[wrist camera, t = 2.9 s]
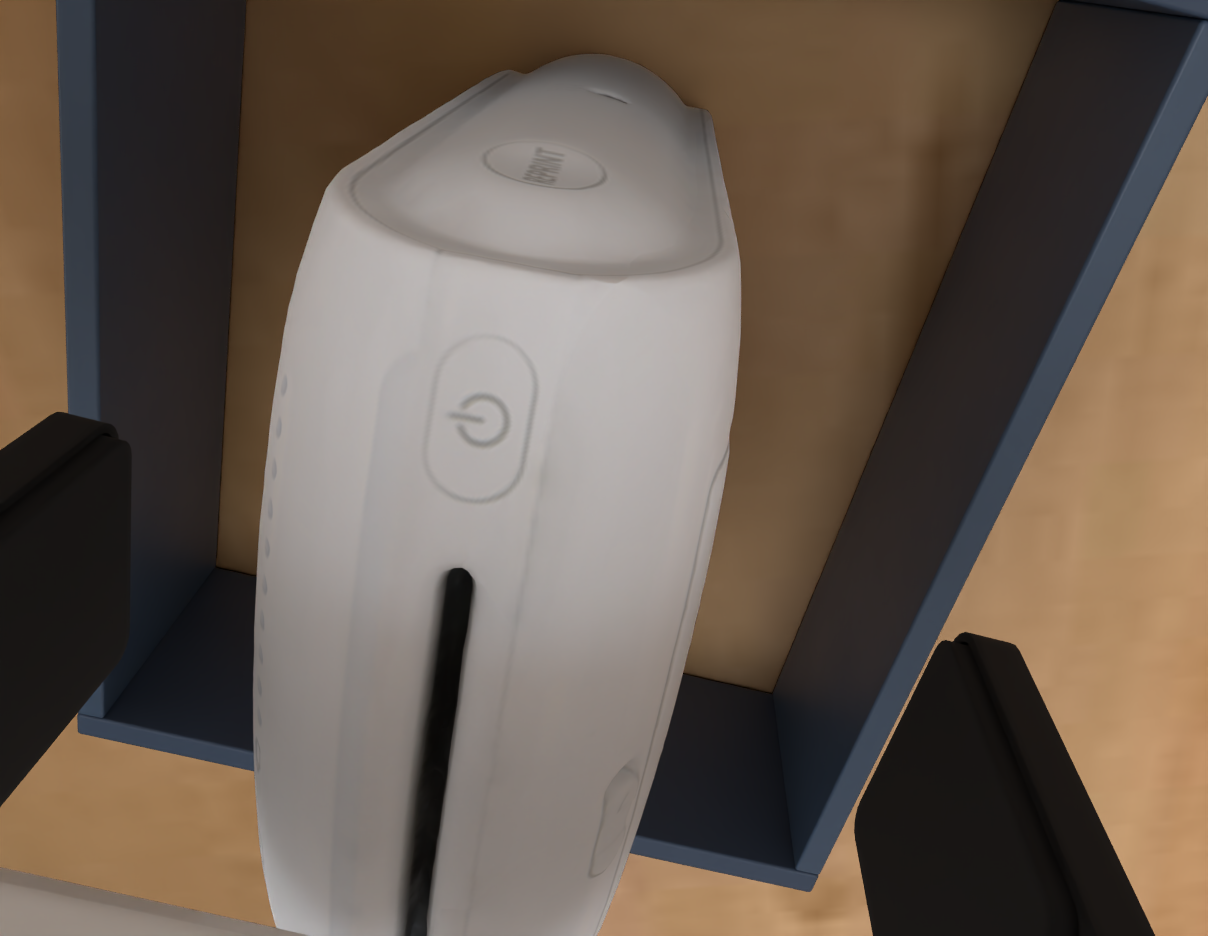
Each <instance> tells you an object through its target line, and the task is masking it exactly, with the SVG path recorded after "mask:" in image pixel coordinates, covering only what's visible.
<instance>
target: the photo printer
mask: <svg viewBox="0 0 1208 936" xmlns="http://www.w3.org/2000/svg"><path fill="white" fill-rule="evenodd" d="M740 338H741V263H740V256H739V249H738V242H737V236H736V233H735V228H734V223H733V220H732V216H731V210H730V204H729V200H728V195H727V191H726V187H725V183H724V178H723V173H722V168H721V162H720V158H719V152H718V148H717V143H716V138H715V132H714V126H713V120H712V116H711V114H710V113H709V111H707V110H705V109H700V108H694V107H689V106H686V105H685V104H684V103H683V102H682V101H681V99H680V98H679V96H678V95H677V93H676V92H675V91H674V90H673V89H672V88H671V87H670V86H669V85H668V84H667V83H666V82H664V81H663V80H662V79H661V78H659V77H658V76H657V75H656V74H654V73H653V72H651V71H650V70H648V69H646V68H645V67H643V66H641V65H639V64H636V63H634V62H632V61H629V60H626V59H623V58H619V57H615V56H611V55H605V54H579V55H572V56H568V57H564V58H560V59H557V60H555V61H552V62H550V63H548V64H545V65H543V66H541V67H539V68H538V69H536V70H534V71H533V72H531V73H527V74H522V73H519V72H516V71H513V70H505V71H500V72H498V73H496V74H494V75H491V76H490V77H489V78H485V79H484V80H483V81H481V82H479V83H478V84H477V85H475V86H473V87H471V88H469V89H468V90H466V91H465V92H463V93H462V94H460V95H459V96H457V97H456V98H454V99H453V100H451V101H449V102H447V103H445V104H444V105H442V106H441V107H439V108H437V109H436V110H434V111H433V112H432V113H430V114H428V115H426V116H425V117H424V118H422V119H420V120H418V121H416V122H415V123H413V124H411V125H410V126H408V127H407V128H405V129H403V130H402V131H400V132H398V133H397V134H395V135H394V136H393V137H391V138H390V139H388V140H387V141H386V142H384V143H383V144H381V145H380V146H378V147H376V148H375V149H373V150H371V151H370V152H368V153H367V154H365V155H364V156H362V157H360V158H359V159H357V160H355V161H354V162H352V163H351V164H349V165H347V166H346V167H344V168H342V169H341V170H340V172H339V173H338V174H337V175H336V176H335V177H334V179H333V180H332V181H331V183H330V184H329V185H328V187H327V188H326V190H325V193H324V196H323V198H322V201H321V204H320V207H319V209H318V212H317V215H316V218H315V220H314V223H313V226H312V229H311V232H310V235H309V238H308V241H307V244H306V247H305V251H304V254H303V257H302V260H301V263H300V266H299V269H298V272H297V275H296V280H295V285H294V289H293V293H292V296H291V300H290V303H289V307H288V313H287V319H286V324H285V328H284V334H283V341H282V349H281V355H280V361H279V367H278V373H277V380H276V386H275V393H274V399H273V406H272V414H271V422H270V430H269V440H268V451H267V459H266V466H265V476H264V490H263V499H262V507H261V516H260V527H259V544H258V561H257V582H256V602H255V621H254V667H253V744H254V776H255V790H256V803H257V817H258V830H259V842H260V851H261V858H262V865H263V871H264V876H265V881H266V886H267V891H268V897H269V902H270V906H271V910H272V914H273V918H274V921H275V925H276V928H279V929H283V930H288V931H292V932H296V933H301V934H305V935H310V936H597V934H598V932H599V930H600V929H601V926H602V924H603V921H604V919H605V917H606V914H607V912H608V909H609V907H610V904H611V901H612V899H613V897H614V894H615V892H616V889H617V887H618V884H619V882H620V879H621V876H622V873H623V870H624V867H625V864H626V861H627V858H628V856H629V853H630V850H631V847H632V844H633V841H634V838H635V835H636V832H637V829H638V826H639V823H640V820H641V817H642V814H643V810H644V807H645V804H646V801H647V798H648V795H649V792H650V789H651V786H652V783H653V780H654V776H655V773H656V769H657V766H658V762H659V758H660V755H661V752H662V750H663V746H664V741H665V738H666V735H667V732H668V728H669V724H670V721H671V717H672V713H673V710H674V706H675V702H676V698H677V694H678V690H679V687H680V683H681V679H682V675H683V671H684V667H685V663H686V659H687V655H688V651H689V647H690V644H691V640H692V636H693V631H694V626H695V622H696V618H697V614H698V610H699V607H700V600H701V595H702V591H703V587H704V584H705V579H706V575H707V570H708V565H709V561H710V556H711V552H712V547H713V542H714V537H715V531H716V526H717V521H718V516H719V511H720V505H721V500H722V495H723V490H724V484H725V478H726V472H727V466H728V459H729V453H730V449H729V435H730V428H731V424H732V420H733V414H734V406H735V397H736V386H737V374H738V362H739V350H740Z"/></svg>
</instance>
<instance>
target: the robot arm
mask: <svg viewBox="0 0 1208 936" xmlns="http://www.w3.org/2000/svg"><path fill="white" fill-rule="evenodd" d="M131 480H132V453H131V447H130V445H129V443H128V442H127V441H124V440H120V439H119V437H118V433H117V430H116V428H115V427H114V426H113V425H112V424H109V423H105V422H101V421H97V420H93V419H89V418H85V417H80V416H76V415H72V414H68V413H64V412H56V413H54V414H52V415H50V416H48V417H47V418H46V419H44V420H43V421H41V422H40V423H38V424H37V425H36V426H34V427H33V428H31V429H30V430H29V431H27V432H26V433H24V434H23V435H21V436H20V437H19V438H17V439H16V440H14V441H13V442H11V443H10V444H9V445H7V446H6V447H4V448H3V449H1V450H0V807H1V805H2V804H3V803H4V802H5V801H6V799H7V798H8V797H9V796H10V794H11V793H12V792H13V791H14V790H15V788H16V787H17V786H18V785H19V783H20V782H21V781H22V780H23V779H24V777H25V776H26V775H27V774H28V772H29V771H30V770H31V769H32V768H33V766H34V765H35V764H36V763H37V762H38V760H39V759H40V758H41V757H42V755H43V754H44V753H45V752H46V751H47V749H48V748H49V747H50V746H51V744H52V743H53V742H54V741H55V740H56V738H57V737H58V736H59V735H60V734H61V732H62V731H63V730H64V729H65V727H66V726H67V725H68V724H69V723H70V721H71V720H72V719H73V718H74V716H75V715H76V714H77V713H78V712H79V710H80V709H81V708H82V707H83V706H84V704H85V703H86V702H87V701H88V699H89V698H90V697H91V696H92V695H93V693H94V692H95V691H96V690H97V688H98V687H99V686H100V685H101V684H102V682H103V681H104V680H105V679H106V677H107V676H108V675H109V674H110V673H111V671H112V670H113V669H114V668H115V667H116V665H117V664H118V662H119V661H120V660H121V658H122V656H123V654H124V652H125V649H126V646H127V643H128V639H129V633H130V571H131ZM854 833H855V841H856V846H857V852H858V857H859V862H860V868H861V873H862V878H863V884H864V889H865V895H866V900H867V905H868V911H869V916H870V921H871V927H872V932H873V936H1155V934H1154V932H1153V930H1152V928H1151V926H1150V924H1149V922H1148V920H1147V917H1146V915H1145V913H1144V911H1143V909H1142V907H1141V905H1140V903H1139V901H1138V899H1137V896H1136V894H1135V892H1134V890H1133V888H1132V886H1131V884H1130V882H1129V880H1128V878H1127V875H1126V873H1125V871H1124V869H1123V867H1122V865H1121V863H1120V861H1119V859H1118V857H1117V854H1116V852H1115V850H1114V848H1113V846H1112V844H1111V842H1110V840H1109V838H1108V836H1107V833H1106V831H1105V829H1104V827H1103V825H1102V823H1101V821H1100V819H1099V817H1098V815H1097V813H1096V810H1095V808H1094V806H1093V804H1092V802H1091V800H1090V798H1089V796H1088V794H1087V792H1086V789H1085V787H1084V785H1083V783H1082V781H1081V779H1080V777H1079V775H1078V773H1077V771H1076V768H1075V766H1074V764H1073V762H1072V760H1071V758H1070V756H1069V754H1068V752H1067V750H1066V747H1065V745H1064V743H1063V741H1062V739H1061V737H1060V735H1059V733H1058V731H1057V729H1056V726H1055V724H1054V722H1053V720H1052V718H1051V716H1050V714H1049V712H1048V710H1047V708H1046V705H1045V703H1044V701H1043V699H1042V697H1041V695H1040V693H1039V691H1038V689H1037V687H1036V684H1035V682H1034V680H1033V678H1032V676H1031V674H1030V672H1029V670H1028V668H1027V666H1026V663H1025V661H1024V659H1023V657H1022V655H1021V653H1020V651H1019V650H1018V648H1017V647H1016V645H1014V644H1011V643H1008V642H1004V641H1000V640H996V639H992V638H988V637H984V636H980V635H976V634H971V633H967V632H964V633H961V634H959V635H958V636H957V637H956V638H955V639H954V641H953V642H951V641H947V640H945V641H942V642H941V643H940V644H938V646H937V647H936V649H935V651H934V653H933V655H932V657H931V659H930V661H929V663H928V665H927V667H926V669H925V671H924V673H923V675H922V677H921V679H920V681H919V683H918V685H917V687H916V689H915V691H914V693H913V695H912V697H911V700H910V702H909V704H908V706H907V708H906V710H905V712H904V714H903V716H902V718H901V720H900V722H899V724H898V726H897V728H896V730H895V732H894V734H893V736H892V738H891V740H890V742H889V744H888V746H887V748H886V750H885V752H884V754H883V756H882V758H881V760H880V762H879V765H878V767H877V769H876V771H875V773H874V775H873V777H872V779H871V781H870V783H869V785H868V787H867V789H866V791H865V793H864V795H863V797H862V799H861V801H860V803H859V806H858V809H857V813H856V817H855V828H854ZM0 936H310V935H305V934H301V933H296V932H292V931H288V930H283V929H279V928H274V927H270V926H265V925H261V924H256V923H252V922H247V921H243V920H238V919H234V918H229V917H224V916H220V915H215V914H211V913H206V912H202V911H197V910H193V909H188V908H184V907H179V906H175V905H170V904H166V903H161V902H157V901H152V900H147V899H143V898H138V897H134V896H129V895H125V894H120V893H116V892H111V891H107V890H102V889H98V888H93V887H89V886H84V885H80V884H75V883H70V882H66V881H61V880H57V879H52V878H48V877H43V876H39V875H34V874H30V873H25V872H21V871H16V870H11V869H7V868H2V867H0Z"/></svg>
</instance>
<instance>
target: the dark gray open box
mask: <svg viewBox="0 0 1208 936" xmlns="http://www.w3.org/2000/svg"><path fill="white" fill-rule="evenodd" d="M245 12H246V0H56V20H57V53H58V86H59V120H60V153H61V186H62V220H63V253H64V286H65V320H66V353H67V386H68V414H72V415H76V416H80V417H85V418H89V419H93V420H97V421H101V422H105V423H109V424H112V425H113V426H114V427H115V428H116V430H117V433H118V437H119V439H120V440H124V441H127V442H128V443H129V445H130V447H131V453H132V480H131V571H130V633H129V639H128V643H127V646H126V649H125V652H124V654H123V656H122V658H121V660H120V661H119V662H118V664H117V665H116V667H115V668H114V669H113V670H112V671H111V673H110V674H109V675H108V676H107V677H106V679H105V680H104V681H103V682H102V684H101V685H100V686H99V687H98V688H97V690H96V691H95V692H94V693H93V695H92V696H91V697H90V698H89V699H88V701H87V702H86V703H85V704H84V706H83V707H82V708H81V709H80V710H79V712H78V715H77V719H78V732H79V733H81V734H85V735H90V736H94V737H99V738H104V739H108V740H113V741H117V742H122V743H127V744H131V745H136V746H140V747H145V748H150V749H154V750H159V751H163V752H168V753H173V754H177V755H182V756H186V757H191V758H195V759H200V760H205V761H209V762H214V763H218V764H223V765H228V766H232V767H237V768H241V769H246V770H251V771H254V744H253V667H254V621H255V602H256V582H257V577H254V576H250V575H246V574H241V573H237V572H233V571H228V570H224V569H219V568H215V566H216V551H217V532H218V514H219V495H220V477H221V458H222V439H223V421H224V402H225V384H226V365H227V346H228V328H229V309H230V291H231V272H232V254H233V235H234V216H235V198H236V179H237V161H238V142H239V123H240V105H241V86H242V68H243V49H244V30H245ZM1207 96H1208V0H1059V1H1058V2H1057V4H1056V6H1055V8H1054V11H1053V13H1052V16H1051V18H1050V21H1049V23H1048V25H1047V28H1046V30H1045V33H1044V35H1043V38H1042V40H1041V42H1040V45H1039V47H1038V50H1037V52H1036V55H1035V57H1034V59H1033V62H1032V64H1031V67H1030V69H1029V72H1028V74H1027V76H1026V79H1025V81H1024V84H1023V86H1022V89H1021V91H1020V93H1019V96H1018V98H1017V101H1016V103H1015V106H1014V108H1013V110H1012V113H1011V115H1010V118H1009V120H1008V123H1007V125H1006V127H1005V130H1004V132H1003V135H1002V137H1001V140H1000V142H999V144H998V147H997V149H996V152H995V154H994V157H993V159H992V162H991V164H990V166H989V169H988V171H987V174H986V176H985V179H984V181H983V183H982V186H981V188H980V191H979V193H978V196H977V198H976V200H975V203H974V205H973V208H972V210H971V213H970V215H969V217H968V220H967V222H966V225H965V227H964V230H963V232H962V234H961V237H960V239H959V242H958V244H957V247H956V249H955V251H954V254H953V256H952V259H951V261H950V264H949V266H948V268H947V271H946V273H945V276H944V278H943V281H942V283H941V285H940V288H939V290H938V293H937V295H936V298H935V300H934V302H933V305H932V307H931V310H930V312H929V315H928V317H927V319H926V322H925V324H924V327H923V329H922V332H921V334H920V336H919V339H918V341H917V344H916V346H915V349H914V351H913V353H912V356H911V358H910V361H909V363H908V366H907V368H906V370H905V373H904V375H903V378H902V380H901V383H900V385H899V388H898V390H897V392H896V395H895V397H894V400H893V402H892V405H891V407H890V409H889V412H888V414H887V417H886V419H885V422H884V424H883V426H882V429H881V431H880V434H879V436H878V439H877V441H876V443H875V446H874V448H873V451H872V453H871V456H870V458H869V460H868V463H867V465H866V468H865V470H864V473H863V475H862V477H861V480H860V482H859V485H858V487H857V490H856V492H855V494H854V497H853V499H852V502H851V504H850V507H849V509H848V511H847V514H846V516H845V519H844V521H843V524H842V526H841V528H840V531H839V533H838V536H837V538H836V541H835V543H834V545H833V548H832V550H831V553H830V555H829V558H828V560H827V562H826V565H825V567H824V570H823V572H822V575H821V577H820V579H819V582H818V584H817V587H816V589H815V592H814V594H813V597H812V599H811V601H810V604H809V606H808V609H807V611H806V614H805V616H804V618H803V621H802V623H801V626H800V628H799V631H798V633H797V635H796V638H795V640H794V643H793V645H792V648H791V650H790V652H789V655H788V657H787V660H786V662H785V665H784V667H783V669H782V672H781V674H780V677H779V679H778V682H777V684H776V686H775V689H774V691H773V694H768V693H764V692H759V691H755V690H751V689H746V688H742V687H737V686H733V685H729V684H724V683H720V682H715V681H711V680H707V679H702V678H698V677H693V676H689V675H685V674H683V675H682V679H681V683H680V687H679V690H678V694H677V698H676V702H675V706H674V710H673V713H672V717H671V721H670V724H669V728H668V732H667V735H666V738H665V741H664V746H663V750H662V752H661V755H660V758H659V762H658V766H657V769H656V773H655V776H654V780H653V783H652V786H651V789H650V792H649V795H648V798H647V801H646V804H645V807H644V810H643V814H642V817H641V820H640V823H639V826H638V829H637V832H636V835H635V838H634V841H633V844H632V847H631V850H630V853H632V854H637V855H641V856H646V857H650V858H655V859H659V860H664V861H669V862H673V863H678V864H682V865H687V866H692V867H696V868H701V869H705V870H710V871H715V872H719V873H724V874H728V875H733V876H738V877H742V878H747V879H751V880H756V881H761V882H765V883H770V884H774V885H779V886H784V887H788V888H793V889H797V890H802V891H806V892H810V891H811V890H812V888H813V886H814V884H815V882H816V880H817V878H818V874H820V872H821V870H822V868H823V866H824V864H825V862H826V860H827V858H828V856H829V854H830V852H831V850H832V848H833V846H834V844H835V842H836V840H837V838H838V836H839V834H840V832H841V830H842V828H843V826H844V824H845V822H846V820H847V818H848V816H849V814H850V812H851V810H852V808H853V806H854V804H855V802H856V800H857V798H858V796H859V794H860V792H861V790H862V788H863V786H864V784H865V782H866V780H867V778H868V776H869V774H870V772H871V770H872V768H873V766H874V764H875V762H876V760H877V758H878V756H879V754H880V752H881V750H882V748H883V746H884V744H885V742H886V740H887V738H888V736H889V734H890V732H891V730H892V728H893V726H894V724H895V722H896V720H897V718H898V716H899V714H900V712H901V710H902V708H903V706H904V704H905V702H906V700H907V698H908V696H909V694H910V692H911V690H912V688H913V686H914V684H915V682H916V680H917V678H918V676H919V674H920V672H921V670H922V668H923V666H924V664H925V662H926V660H927V658H928V656H929V654H930V652H931V650H932V648H933V646H934V644H935V642H936V640H937V638H938V636H939V634H940V632H941V630H942V628H943V626H944V624H945V622H946V620H947V618H948V616H949V614H950V612H951V610H952V608H953V606H954V604H955V602H956V600H957V597H958V595H959V593H960V591H961V589H962V587H963V585H964V583H965V581H966V579H967V577H968V575H969V573H970V571H971V569H972V567H973V565H974V563H975V561H976V559H977V557H978V555H979V553H980V551H981V549H982V547H983V545H984V543H985V541H986V539H987V537H988V535H989V533H990V531H991V529H992V527H993V525H994V523H995V521H996V519H997V517H998V515H999V513H1000V511H1001V509H1002V507H1003V505H1004V503H1005V501H1006V499H1007V497H1008V495H1009V493H1010V491H1011V489H1012V487H1013V485H1014V483H1015V481H1016V479H1017V477H1018V475H1019V473H1020V471H1021V469H1022V467H1023V465H1024V463H1025V461H1026V459H1027V457H1028V455H1029V453H1030V451H1031V449H1032V447H1033V445H1034V443H1035V441H1036V439H1037V437H1038V435H1039V433H1040V431H1041V429H1042V427H1043V425H1044V423H1045V421H1046V419H1047V417H1048V415H1049V413H1050V411H1051V409H1052V407H1053V405H1054V403H1055V401H1056V399H1057V397H1058V395H1059V393H1060V391H1061V389H1062V387H1063V385H1064V383H1065V381H1066V379H1067V377H1068V375H1069V373H1070V371H1071V369H1072V367H1073V365H1074V363H1075V361H1076V359H1077V357H1078V355H1079V353H1080V351H1081V349H1082V347H1083V345H1084V343H1085V341H1086V339H1087V337H1088V335H1089V333H1090V331H1091V329H1092V327H1093V325H1094V323H1095V321H1096V319H1097V317H1098V315H1099V313H1100V311H1101V309H1102V307H1103V305H1104V303H1105V301H1106V299H1107V297H1108V295H1109V293H1110V291H1111V289H1112V287H1113V285H1114V283H1115V281H1116V279H1117V277H1118V275H1119V272H1120V270H1121V268H1122V266H1123V264H1124V262H1125V260H1126V258H1127V256H1128V254H1129V252H1130V250H1131V248H1132V246H1133V244H1134V242H1135V240H1136V238H1137V236H1138V234H1139V232H1140V230H1141V228H1142V226H1143V224H1144V222H1145V220H1146V218H1147V216H1148V214H1149V212H1150V210H1151V208H1152V206H1153V204H1154V202H1155V200H1156V198H1157V196H1158V194H1159V192H1160V190H1161V188H1162V186H1163V184H1164V182H1165V180H1166V178H1167V176H1168V174H1169V172H1170V170H1171V168H1172V166H1173V164H1174V162H1175V160H1176V158H1177V156H1178V154H1179V152H1180V150H1181V148H1182V146H1183V144H1184V142H1185V140H1186V138H1187V136H1188V134H1189V132H1190V130H1191V128H1192V126H1193V124H1194V122H1195V120H1196V118H1197V116H1198V114H1199V112H1200V110H1201V108H1202V106H1203V104H1204V102H1205V100H1206V98H1207Z"/></svg>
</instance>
